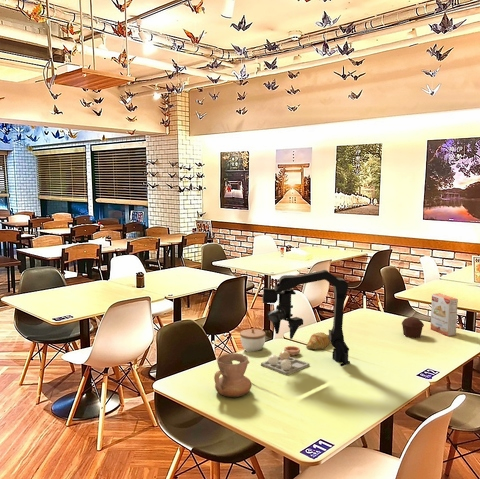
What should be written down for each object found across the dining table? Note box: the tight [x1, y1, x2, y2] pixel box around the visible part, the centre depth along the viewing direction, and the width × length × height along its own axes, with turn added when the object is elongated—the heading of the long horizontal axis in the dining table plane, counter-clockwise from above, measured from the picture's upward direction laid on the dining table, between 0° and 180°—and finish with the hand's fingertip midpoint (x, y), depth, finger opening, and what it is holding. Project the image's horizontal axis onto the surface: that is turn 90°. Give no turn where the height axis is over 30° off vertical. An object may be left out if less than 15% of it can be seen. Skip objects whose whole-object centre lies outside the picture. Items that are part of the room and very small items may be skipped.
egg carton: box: [260, 356, 310, 376], centre depth 207 cm, size 16×16×2 cm
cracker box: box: [430, 293, 459, 337], centre depth 256 cm, size 14×6×21 cm, turn 17°
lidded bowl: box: [239, 328, 266, 353], centre depth 229 cm, size 13×13×11 cm
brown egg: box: [278, 350, 291, 360], centre depth 212 cm, size 5×5×5 cm
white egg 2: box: [281, 359, 291, 370], centre depth 201 cm, size 5×5×5 cm
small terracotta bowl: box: [283, 345, 301, 357], centre depth 221 cm, size 7×7×4 cm
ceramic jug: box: [213, 352, 252, 398], centre depth 181 cm, size 18×14×14 cm
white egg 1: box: [267, 354, 279, 366], centre depth 207 cm, size 5×5×5 cm
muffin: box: [401, 316, 425, 339], centre depth 251 cm, size 12×11×10 cm
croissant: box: [305, 332, 331, 350], centre depth 237 cm, size 21×10×8 cm, turn 138°
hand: (284, 336), depth 212 cm, fingers open, 9 cm apart
